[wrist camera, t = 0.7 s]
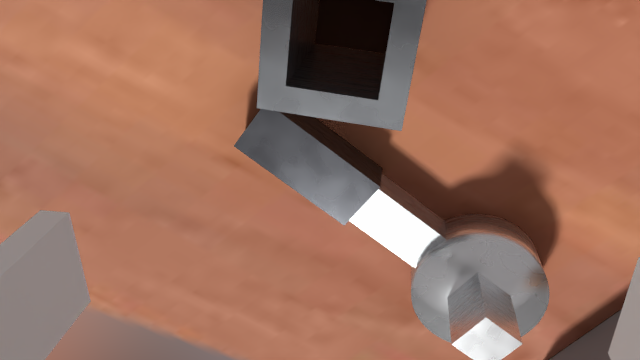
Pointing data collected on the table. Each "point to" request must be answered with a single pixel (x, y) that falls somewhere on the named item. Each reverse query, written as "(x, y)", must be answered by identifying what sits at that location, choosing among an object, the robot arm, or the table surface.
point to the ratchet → (414, 236)
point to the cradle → (592, 343)
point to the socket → (336, 67)
